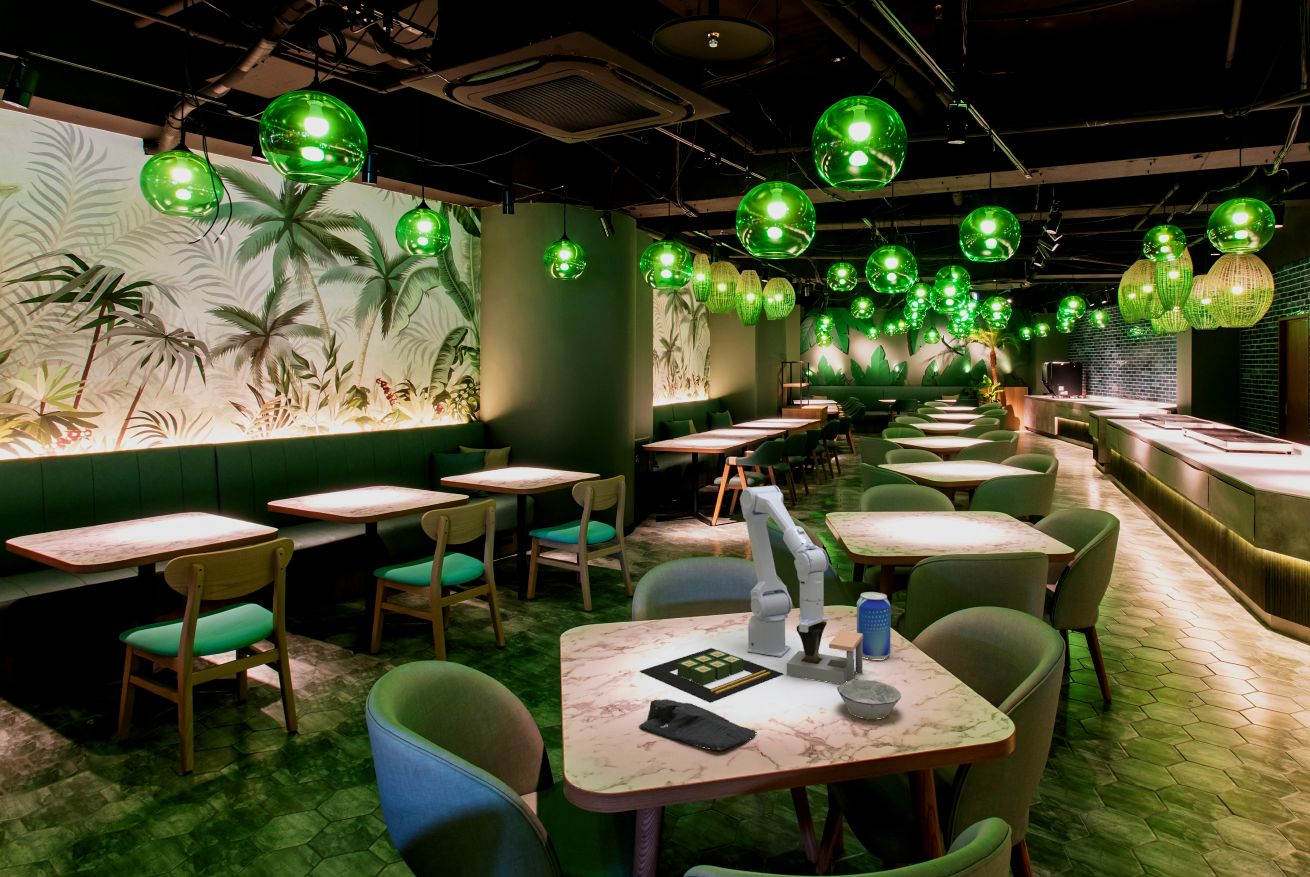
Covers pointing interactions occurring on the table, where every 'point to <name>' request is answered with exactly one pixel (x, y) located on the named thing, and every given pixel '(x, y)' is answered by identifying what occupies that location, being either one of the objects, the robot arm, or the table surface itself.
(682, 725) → the black folded cloth
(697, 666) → the sushi
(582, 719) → the table surface
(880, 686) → the bowl
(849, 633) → the raised peach slab
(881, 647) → the beer can
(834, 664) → the socket plate
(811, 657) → the peg
